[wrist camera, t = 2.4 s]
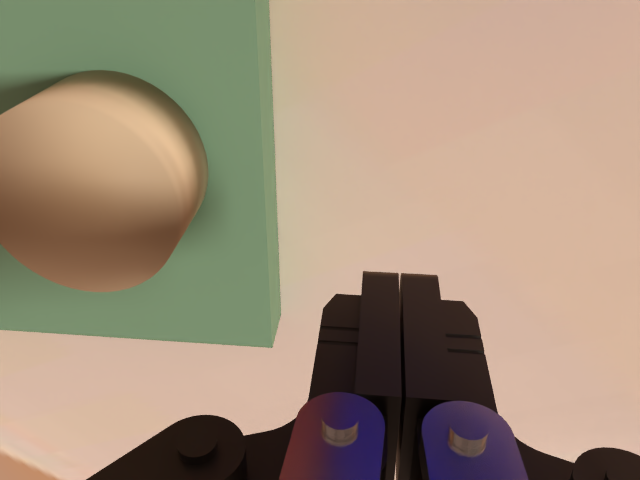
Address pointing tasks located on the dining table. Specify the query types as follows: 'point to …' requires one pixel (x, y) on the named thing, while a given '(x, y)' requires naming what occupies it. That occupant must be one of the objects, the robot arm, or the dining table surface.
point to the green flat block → (221, 149)
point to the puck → (98, 180)
